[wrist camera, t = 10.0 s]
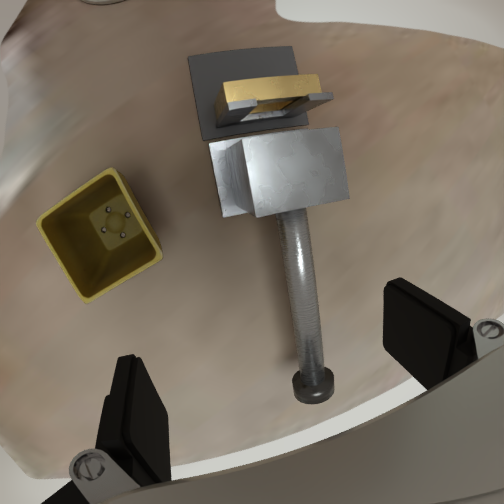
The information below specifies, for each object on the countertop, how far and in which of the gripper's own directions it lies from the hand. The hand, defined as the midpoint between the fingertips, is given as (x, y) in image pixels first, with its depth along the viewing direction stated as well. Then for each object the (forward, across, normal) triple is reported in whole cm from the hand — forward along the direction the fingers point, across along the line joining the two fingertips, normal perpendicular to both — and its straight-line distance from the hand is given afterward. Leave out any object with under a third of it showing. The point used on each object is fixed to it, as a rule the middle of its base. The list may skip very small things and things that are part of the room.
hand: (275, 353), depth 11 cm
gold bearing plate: (+25, -7, -12) cm, 28 cm away
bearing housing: (+25, -7, -4) cm, 26 cm away
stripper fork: (+25, -7, -10) cm, 28 cm away
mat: (+25, -7, -14) cm, 30 cm away
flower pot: (+25, +10, -2) cm, 27 cm away
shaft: (+20, -7, +6) cm, 22 cm away
